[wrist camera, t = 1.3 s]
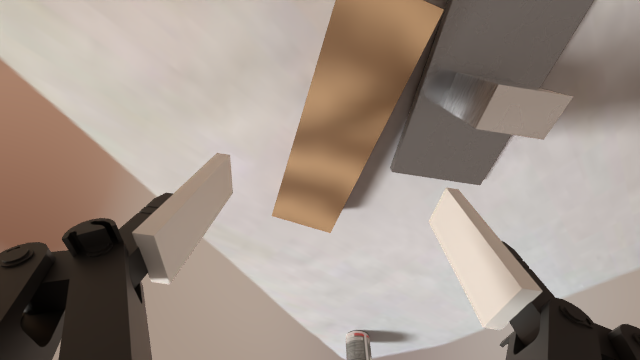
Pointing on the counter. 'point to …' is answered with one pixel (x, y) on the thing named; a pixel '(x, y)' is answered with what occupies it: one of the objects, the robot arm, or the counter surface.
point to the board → (350, 102)
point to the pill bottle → (358, 346)
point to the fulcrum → (485, 85)
